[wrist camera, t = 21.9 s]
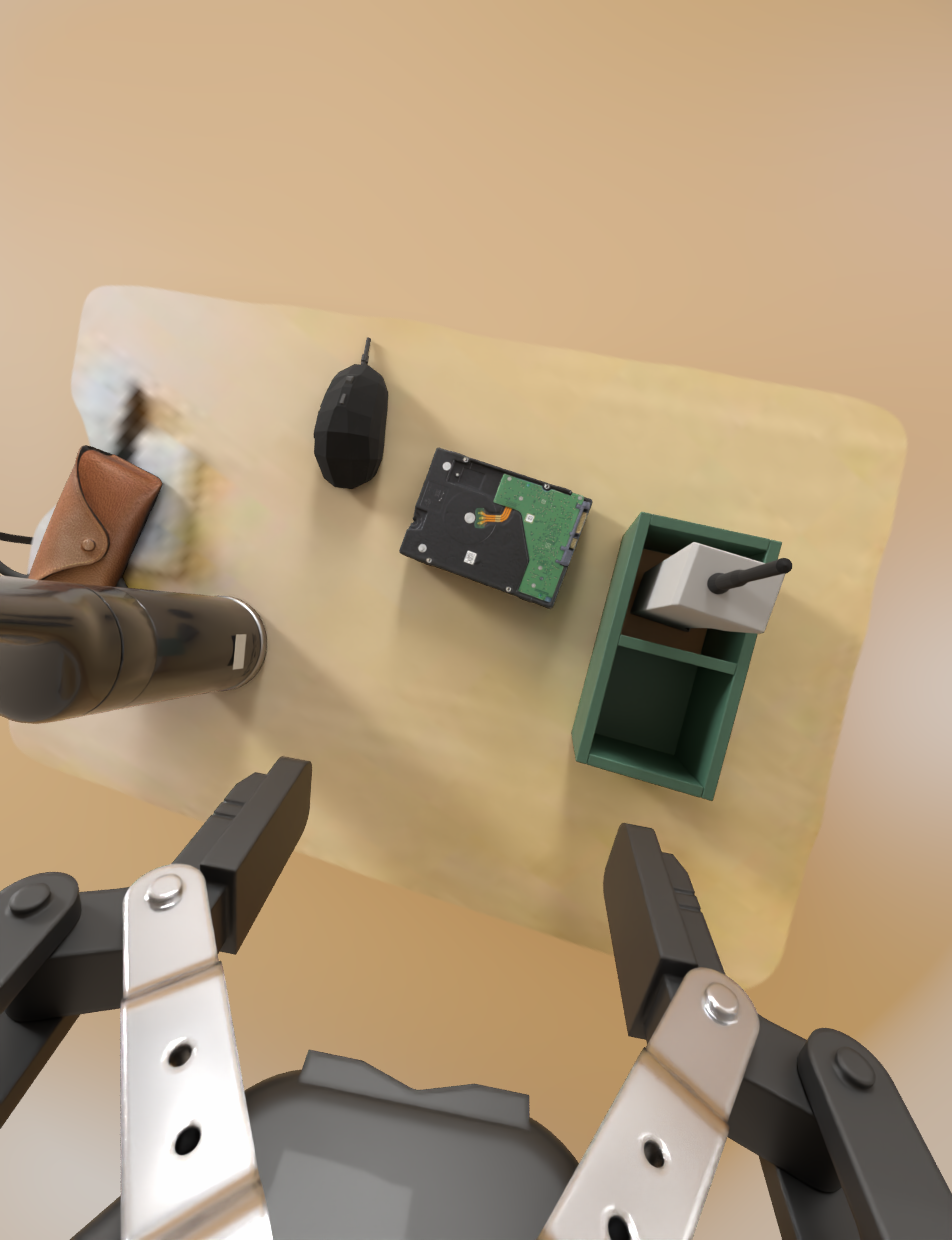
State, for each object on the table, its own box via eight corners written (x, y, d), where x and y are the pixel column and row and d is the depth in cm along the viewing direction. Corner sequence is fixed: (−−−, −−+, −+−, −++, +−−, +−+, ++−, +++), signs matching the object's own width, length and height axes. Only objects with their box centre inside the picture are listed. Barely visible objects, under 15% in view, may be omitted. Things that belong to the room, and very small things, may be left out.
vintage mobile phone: (685, 632, 44) (851, 637, 20) (629, 613, 45) (719, 595, 20) (700, 590, 44) (885, 543, 19) (643, 572, 45) (752, 504, 20)
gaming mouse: (400, 341, 50) (387, 316, 46) (378, 494, 50) (363, 482, 46) (339, 337, 50) (320, 313, 47) (317, 487, 51) (297, 475, 47)
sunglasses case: (103, 639, 53) (20, 626, 48) (87, 617, 58) (10, 602, 53) (166, 477, 52) (89, 446, 47) (146, 467, 57) (73, 437, 52)
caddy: (571, 733, 47) (575, 761, 37) (622, 535, 46) (640, 511, 36) (678, 764, 45) (713, 801, 35) (733, 560, 45) (782, 541, 35)
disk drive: (406, 559, 49) (553, 610, 47) (397, 554, 47) (553, 609, 44) (442, 455, 49) (592, 502, 47) (435, 445, 46) (594, 494, 44)
